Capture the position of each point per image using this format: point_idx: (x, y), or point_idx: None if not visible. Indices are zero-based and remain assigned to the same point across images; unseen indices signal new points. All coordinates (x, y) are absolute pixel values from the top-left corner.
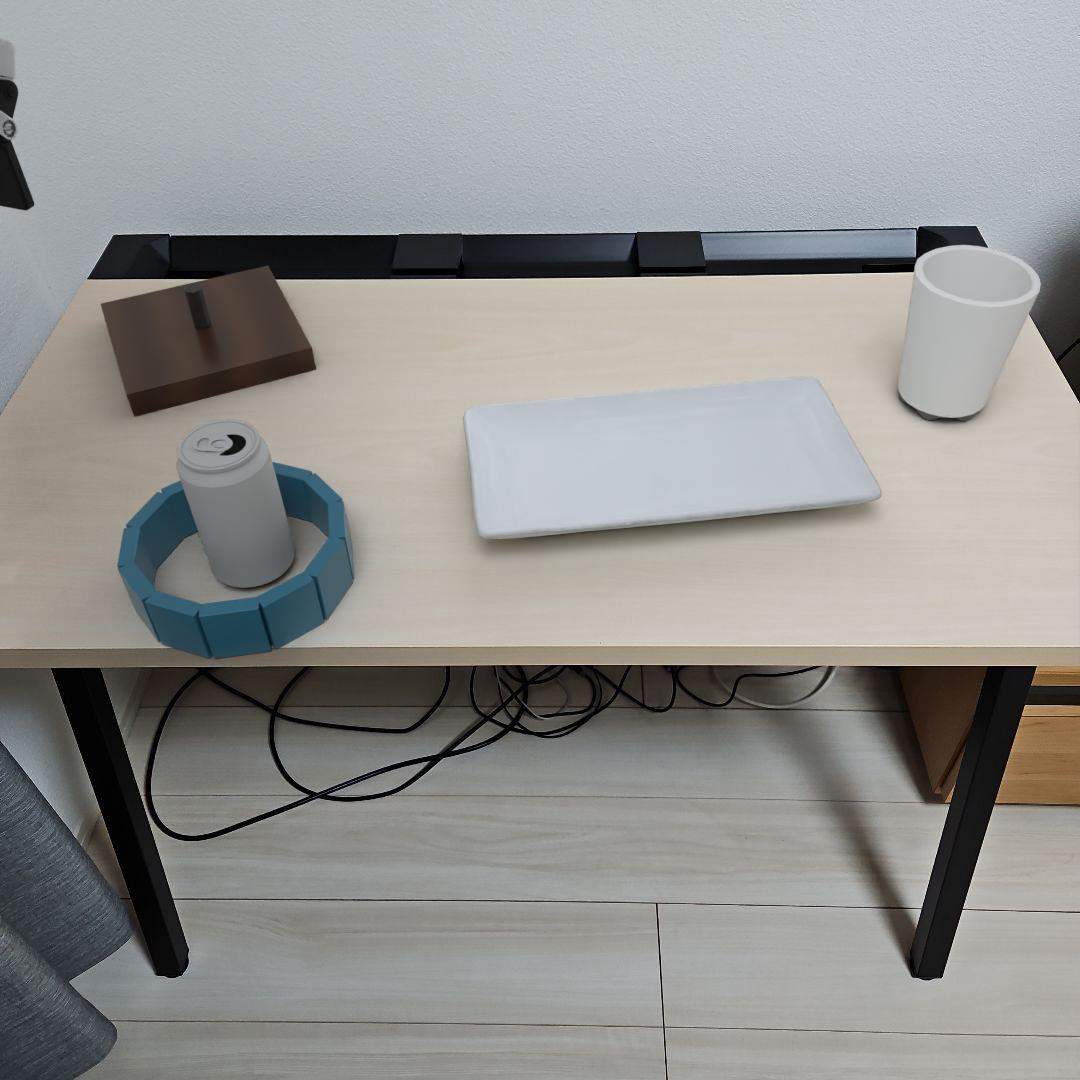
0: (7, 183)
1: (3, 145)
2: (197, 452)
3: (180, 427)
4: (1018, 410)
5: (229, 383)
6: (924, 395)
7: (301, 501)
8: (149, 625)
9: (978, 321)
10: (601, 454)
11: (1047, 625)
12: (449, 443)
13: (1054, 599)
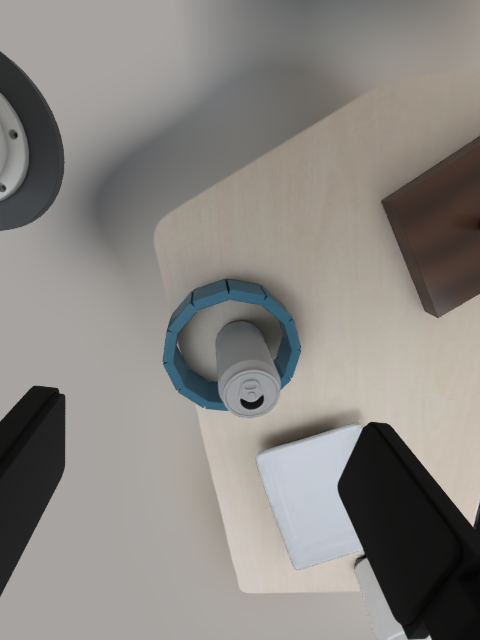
0: (364, 520)
1: (411, 635)
2: (242, 384)
3: (366, 242)
4: None
5: (410, 265)
6: (363, 571)
7: (280, 362)
8: (175, 312)
9: (376, 635)
10: (329, 473)
11: (246, 589)
12: (345, 403)
13: (259, 590)
